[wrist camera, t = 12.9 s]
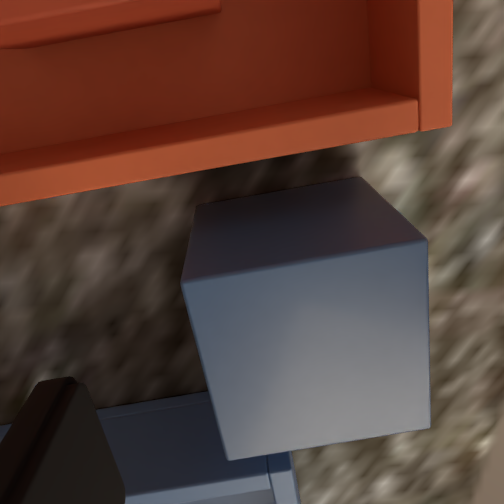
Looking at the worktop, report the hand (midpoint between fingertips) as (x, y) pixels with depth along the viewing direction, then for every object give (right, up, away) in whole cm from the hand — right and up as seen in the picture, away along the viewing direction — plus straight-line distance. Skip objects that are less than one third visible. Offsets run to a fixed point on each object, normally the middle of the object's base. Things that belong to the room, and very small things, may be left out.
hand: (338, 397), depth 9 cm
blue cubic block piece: (-1, +2, +5) cm, 5 cm away
